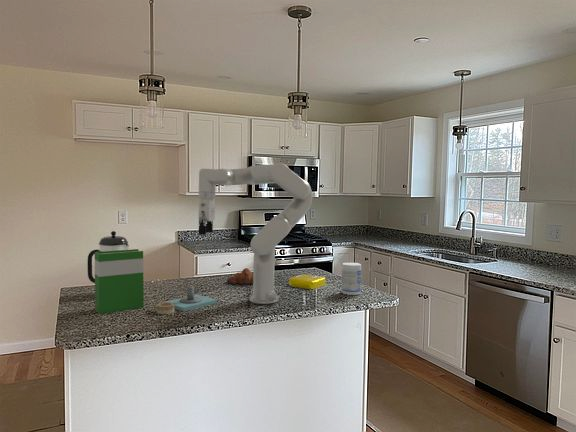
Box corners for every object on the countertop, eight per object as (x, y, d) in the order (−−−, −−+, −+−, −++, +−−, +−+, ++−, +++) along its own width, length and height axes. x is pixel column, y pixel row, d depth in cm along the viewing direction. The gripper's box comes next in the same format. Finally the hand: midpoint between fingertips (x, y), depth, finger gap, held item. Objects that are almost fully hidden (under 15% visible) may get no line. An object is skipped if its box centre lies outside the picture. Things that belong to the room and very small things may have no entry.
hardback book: (138, 303, 194) (137, 249, 192) (143, 307, 188) (143, 251, 186) (95, 309, 184) (94, 252, 182) (99, 313, 178) (98, 254, 176)
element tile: (303, 281, 246) (303, 272, 246) (326, 285, 238) (326, 276, 237) (287, 286, 234) (287, 277, 234) (311, 290, 225) (312, 281, 225)
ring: (177, 311, 183) (177, 304, 183) (163, 314, 177) (163, 307, 177) (167, 308, 187) (167, 301, 187) (153, 311, 182) (153, 304, 182)
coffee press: (124, 288, 221) (124, 228, 219) (134, 295, 208) (134, 231, 206) (87, 293, 211) (86, 230, 209) (95, 300, 198) (94, 233, 196)
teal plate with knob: (216, 303, 197) (216, 285, 196) (183, 311, 183) (183, 292, 182) (196, 297, 205) (196, 280, 205) (163, 305, 191) (163, 287, 191)
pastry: (248, 278, 250) (248, 264, 250) (268, 282, 240) (268, 268, 240) (226, 283, 238) (226, 268, 237) (246, 287, 228) (246, 272, 227)
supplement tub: (361, 296, 213) (362, 265, 213) (341, 295, 214) (342, 265, 213) (360, 291, 223) (360, 262, 222) (341, 290, 224) (341, 261, 223)
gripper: (208, 196, 192) (207, 236, 193) (220, 196, 209) (219, 232, 210) (192, 196, 193) (191, 235, 194) (205, 195, 210) (203, 231, 211)
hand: (205, 233), depth 202 cm, fingers open, 9 cm apart
